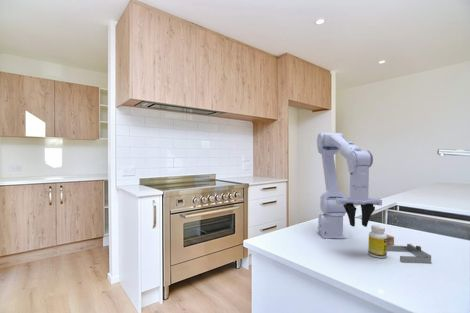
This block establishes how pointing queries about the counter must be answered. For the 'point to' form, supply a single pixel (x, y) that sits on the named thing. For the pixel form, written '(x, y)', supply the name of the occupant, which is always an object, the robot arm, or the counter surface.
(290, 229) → the counter surface
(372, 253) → the supplement bottle
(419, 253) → the steel cradle
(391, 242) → the tan cardboard box
